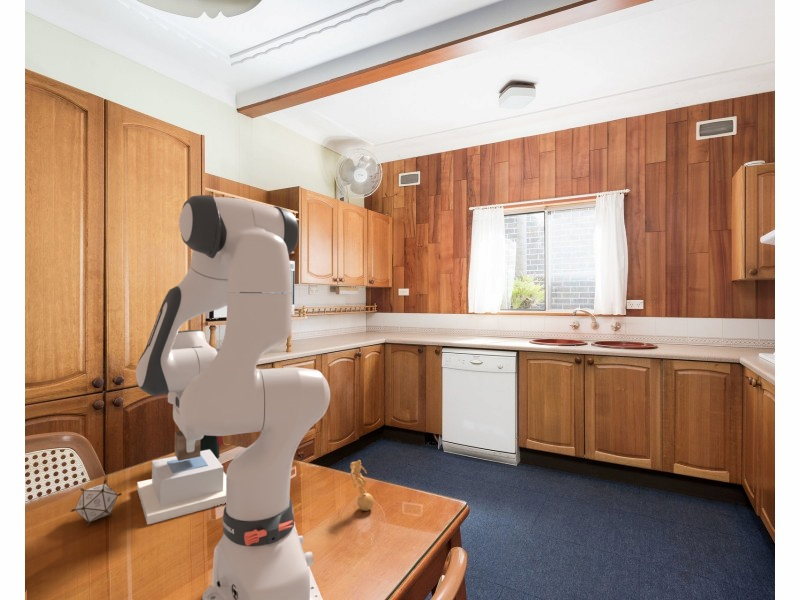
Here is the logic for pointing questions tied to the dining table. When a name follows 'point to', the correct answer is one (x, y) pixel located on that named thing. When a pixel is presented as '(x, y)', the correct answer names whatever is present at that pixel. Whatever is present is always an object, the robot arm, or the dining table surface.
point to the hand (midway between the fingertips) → (187, 447)
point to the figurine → (361, 487)
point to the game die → (96, 502)
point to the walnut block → (181, 447)
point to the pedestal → (182, 487)
